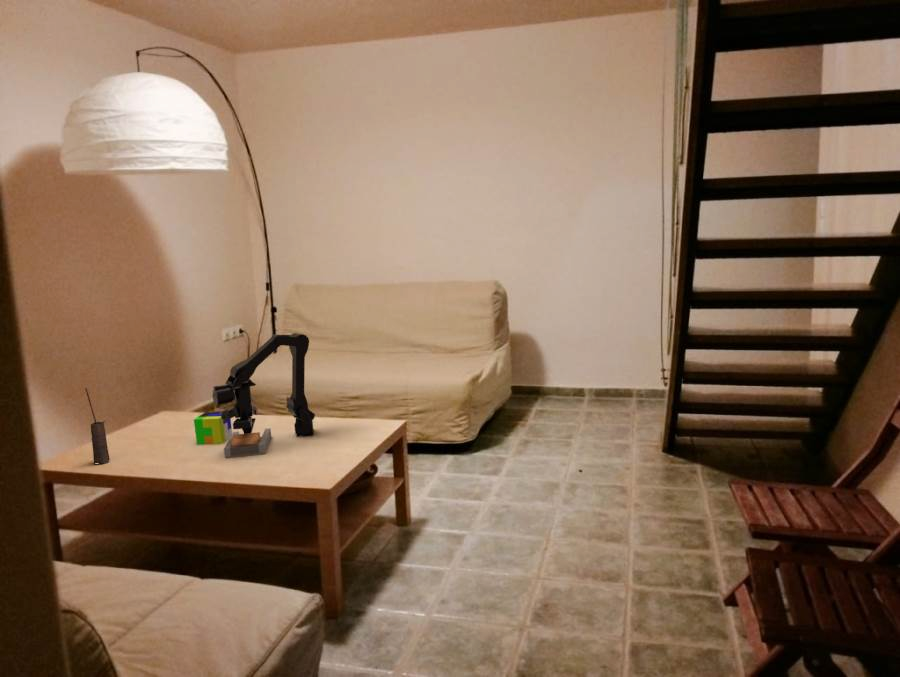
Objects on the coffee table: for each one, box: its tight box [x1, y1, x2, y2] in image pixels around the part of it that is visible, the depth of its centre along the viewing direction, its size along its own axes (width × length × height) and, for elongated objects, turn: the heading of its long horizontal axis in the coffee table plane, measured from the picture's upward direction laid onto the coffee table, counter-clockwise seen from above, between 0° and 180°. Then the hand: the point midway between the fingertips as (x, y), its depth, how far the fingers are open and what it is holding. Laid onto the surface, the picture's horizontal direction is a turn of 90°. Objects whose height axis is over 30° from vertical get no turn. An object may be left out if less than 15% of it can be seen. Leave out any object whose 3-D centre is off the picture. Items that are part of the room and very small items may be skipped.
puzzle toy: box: [193, 411, 233, 445], centre depth 269 cm, size 10×10×10 cm
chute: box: [223, 428, 272, 459], centre depth 257 cm, size 14×20×4 cm
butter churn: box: [84, 387, 111, 464], centre depth 249 cm, size 9×10×28 cm
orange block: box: [231, 432, 261, 446], centre depth 252 cm, size 9×6×5 cm, turn 98°
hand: (248, 439), depth 257 cm, fingers closed
